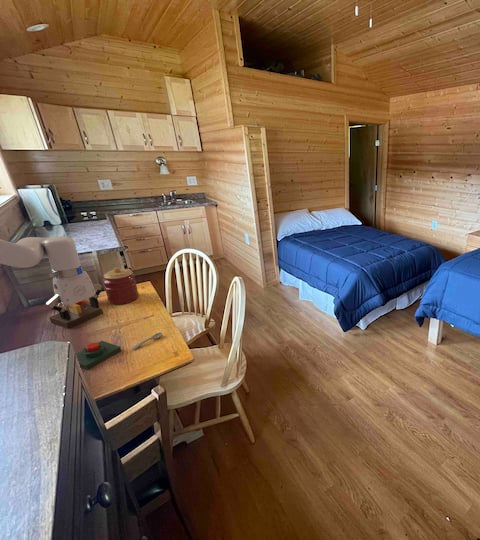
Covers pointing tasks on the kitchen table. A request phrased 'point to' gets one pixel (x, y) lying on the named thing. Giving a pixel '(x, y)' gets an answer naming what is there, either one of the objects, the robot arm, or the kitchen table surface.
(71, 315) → the plate
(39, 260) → the robot arm
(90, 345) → the button
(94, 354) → the button box
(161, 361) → the kitchen table surface
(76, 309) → the latch
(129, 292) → the kitchen canister
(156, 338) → the spoon
